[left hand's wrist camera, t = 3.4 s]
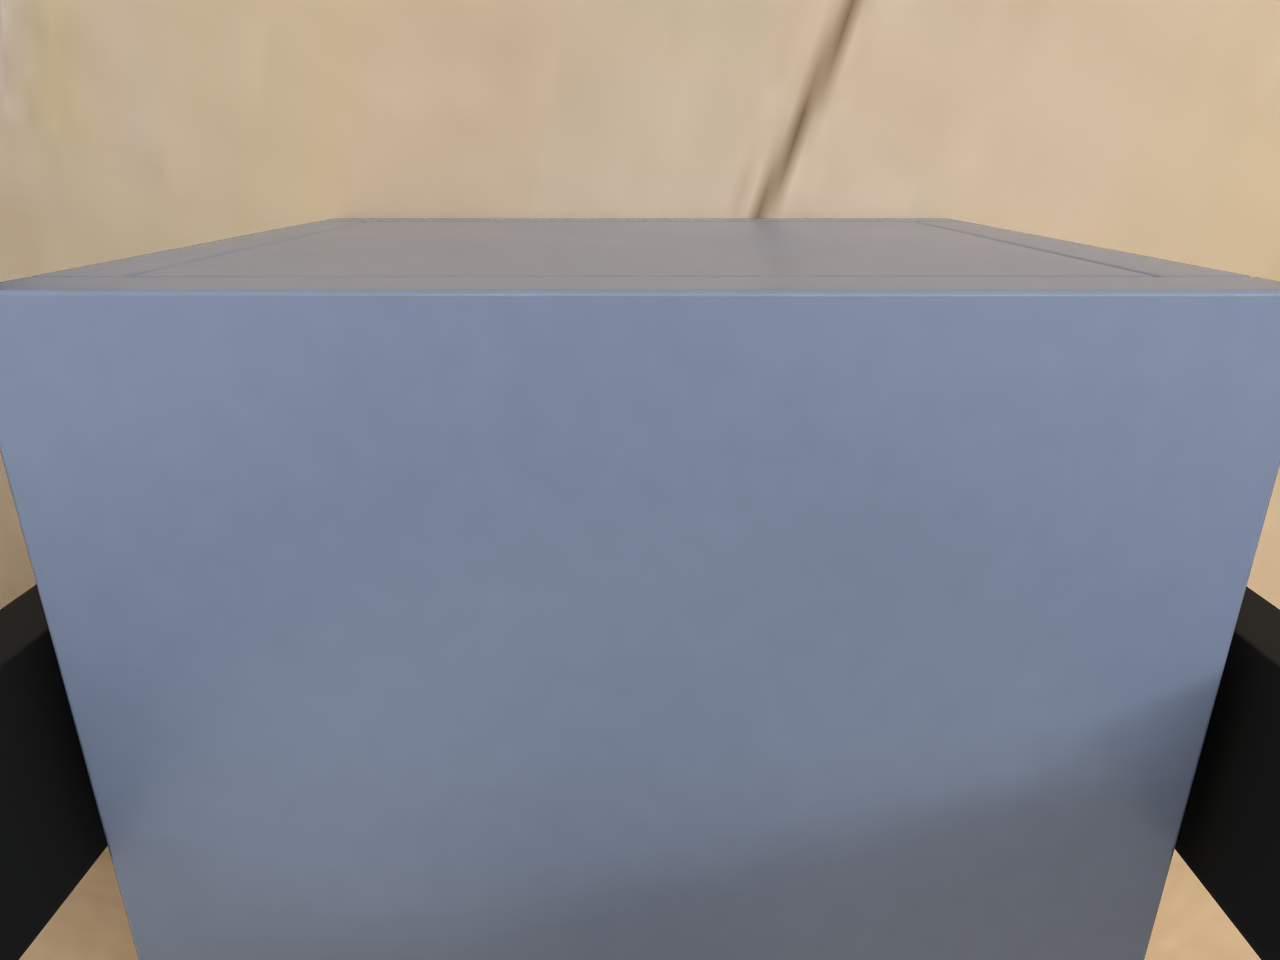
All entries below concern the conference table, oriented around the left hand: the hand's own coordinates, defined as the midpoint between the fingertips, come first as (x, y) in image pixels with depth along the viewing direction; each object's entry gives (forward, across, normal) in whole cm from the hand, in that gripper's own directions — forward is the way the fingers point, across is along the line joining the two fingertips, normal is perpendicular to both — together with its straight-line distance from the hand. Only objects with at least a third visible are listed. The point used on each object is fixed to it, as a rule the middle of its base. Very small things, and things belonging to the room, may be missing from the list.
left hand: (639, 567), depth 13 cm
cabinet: (+4, 0, -4) cm, 6 cm away
